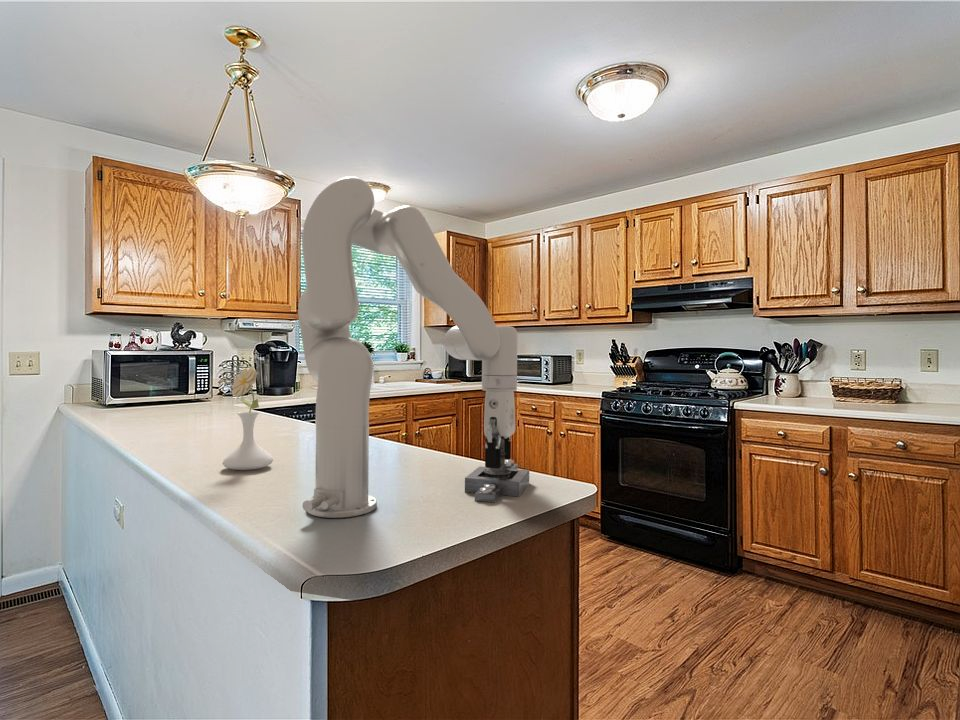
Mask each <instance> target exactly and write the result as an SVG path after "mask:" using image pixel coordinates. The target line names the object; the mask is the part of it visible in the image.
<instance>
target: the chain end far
mask: <svg viewBox="0 0 960 720" xmlns="http://www.w3.org/2000/svg"><path fill="white" fill-rule="evenodd" d="M518 464H519V463H515V461H514V460H513V459H505V467H506V469H508V470H510V471H511V473H510V477H512V479H505V478H491V477H485V473H484V470H486V469H488V468H486V467H485V466H482V465H481V466H478V467H477V468H475V469H474V470H473V471H472V472H471V473H469V474H467V476H465V477H464V486H465V485H471V486H483V487H484V485H485V484H494V485H496V486H495V488H508V489H520V488H521V487H522V485H523V484H524V483H525V482H526V480H527V479H528V478H529V479H530V469H520V468H519V465H518Z"/></svg>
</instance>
